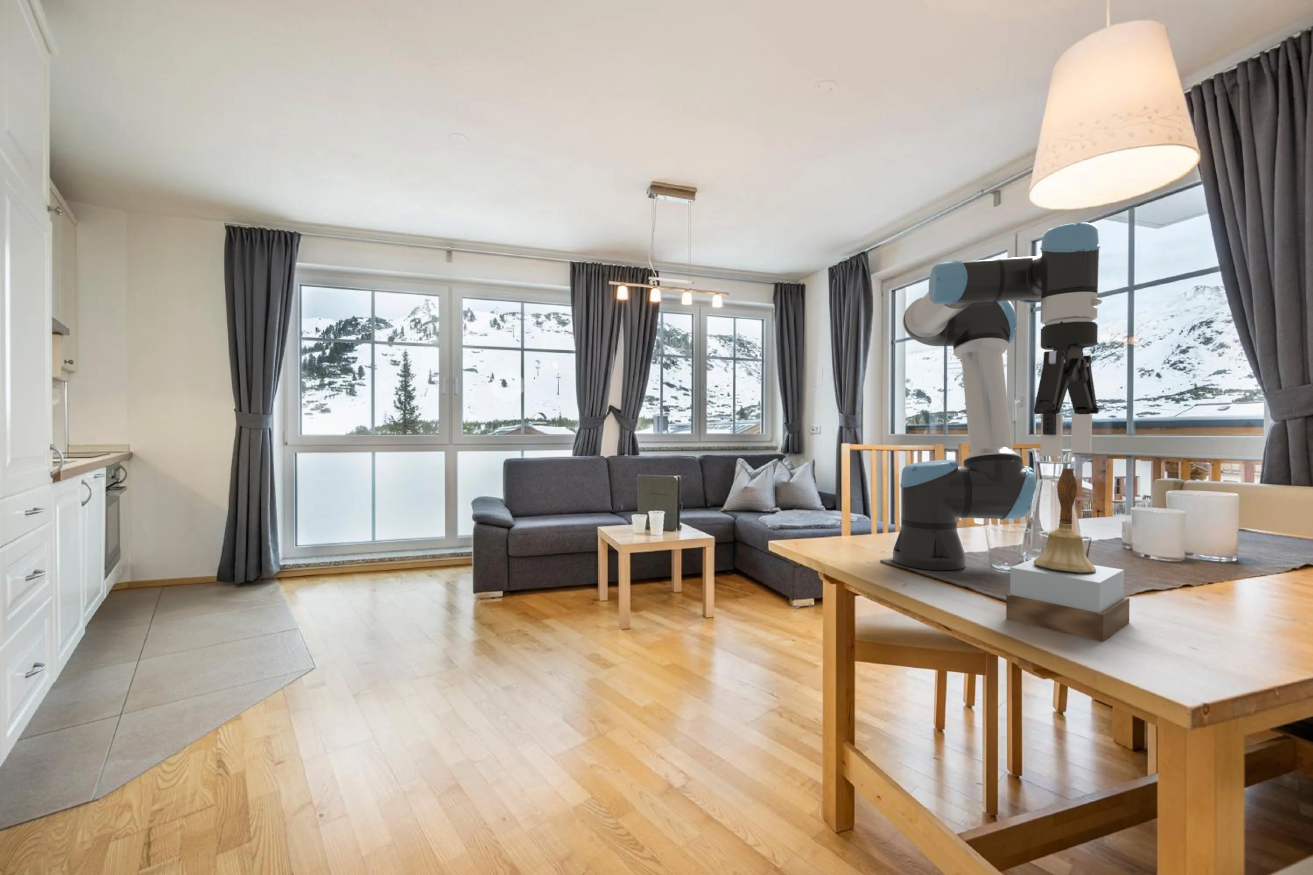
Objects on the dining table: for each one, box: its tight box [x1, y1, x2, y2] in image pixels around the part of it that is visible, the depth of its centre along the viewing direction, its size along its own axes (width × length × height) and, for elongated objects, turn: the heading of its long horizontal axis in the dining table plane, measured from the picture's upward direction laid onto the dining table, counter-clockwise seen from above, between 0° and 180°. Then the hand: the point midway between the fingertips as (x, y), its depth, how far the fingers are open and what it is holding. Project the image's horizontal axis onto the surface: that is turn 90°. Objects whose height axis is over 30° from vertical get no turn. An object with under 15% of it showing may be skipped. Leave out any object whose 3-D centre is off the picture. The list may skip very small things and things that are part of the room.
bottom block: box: [1005, 592, 1130, 643], centre depth 94 cm, size 13×13×4 cm
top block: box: [1009, 556, 1125, 613], centre depth 94 cm, size 12×12×4 cm
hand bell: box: [1034, 467, 1096, 572], centre depth 94 cm, size 8×8×16 cm
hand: (1066, 454), depth 95 cm, fingers open, 13 cm apart
